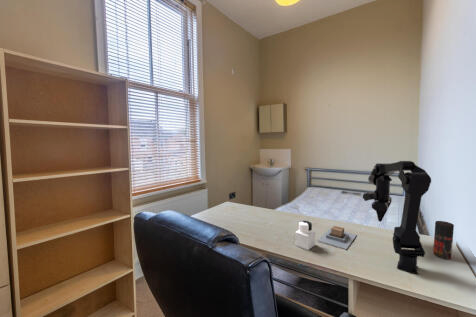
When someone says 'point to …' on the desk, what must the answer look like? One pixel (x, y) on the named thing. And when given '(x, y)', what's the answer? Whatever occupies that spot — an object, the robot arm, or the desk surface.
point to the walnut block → (337, 232)
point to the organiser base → (337, 239)
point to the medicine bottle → (305, 235)
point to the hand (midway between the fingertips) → (381, 218)
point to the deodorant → (443, 240)
